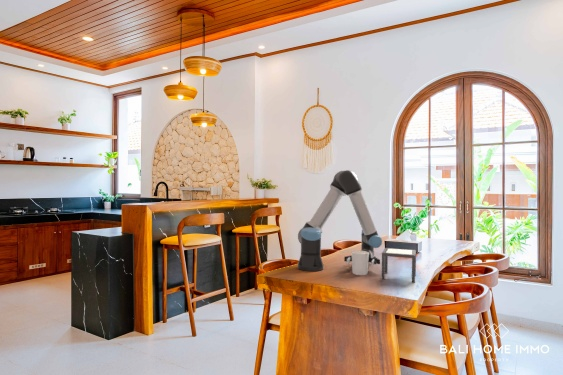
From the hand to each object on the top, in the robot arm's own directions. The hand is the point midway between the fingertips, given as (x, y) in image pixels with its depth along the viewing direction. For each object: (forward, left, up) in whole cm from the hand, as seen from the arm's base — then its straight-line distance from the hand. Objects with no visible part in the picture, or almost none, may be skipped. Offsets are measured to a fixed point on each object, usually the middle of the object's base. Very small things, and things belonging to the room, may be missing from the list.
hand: (359, 262), depth 213 cm
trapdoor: (+21, +2, +7) cm, 22 cm away
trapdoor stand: (+21, +2, -6) cm, 22 cm away
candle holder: (0, +2, -7) cm, 7 cm away
